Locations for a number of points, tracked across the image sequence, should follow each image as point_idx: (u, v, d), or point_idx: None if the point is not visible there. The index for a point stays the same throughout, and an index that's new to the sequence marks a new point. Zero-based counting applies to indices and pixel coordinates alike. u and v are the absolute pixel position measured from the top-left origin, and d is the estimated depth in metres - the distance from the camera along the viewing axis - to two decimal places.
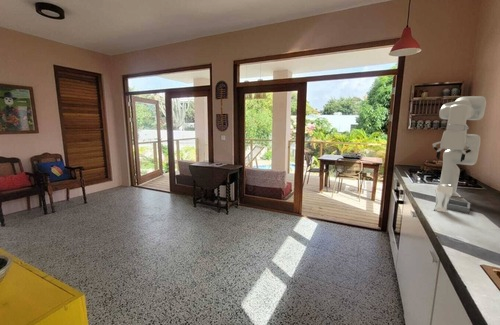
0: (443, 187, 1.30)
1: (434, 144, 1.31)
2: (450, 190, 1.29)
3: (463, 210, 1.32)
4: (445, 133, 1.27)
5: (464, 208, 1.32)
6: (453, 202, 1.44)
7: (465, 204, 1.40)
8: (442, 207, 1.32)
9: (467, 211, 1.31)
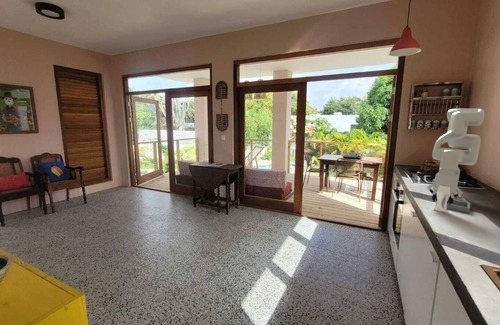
0: (443, 187, 1.30)
1: (429, 187, 1.36)
2: None
3: (463, 210, 1.32)
4: (437, 176, 1.32)
5: (464, 208, 1.32)
6: (453, 202, 1.44)
7: (465, 204, 1.40)
8: (442, 207, 1.32)
9: (467, 211, 1.31)
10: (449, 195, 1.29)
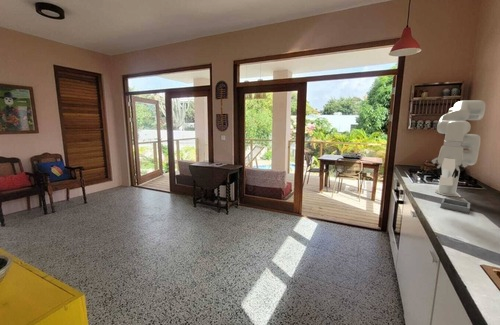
0: (448, 159, 1.27)
1: (433, 161, 1.34)
2: None
3: (463, 210, 1.32)
4: (442, 149, 1.29)
5: (464, 208, 1.32)
6: (453, 202, 1.44)
7: (465, 204, 1.40)
8: (447, 180, 1.29)
9: (467, 211, 1.31)
10: (454, 168, 1.27)
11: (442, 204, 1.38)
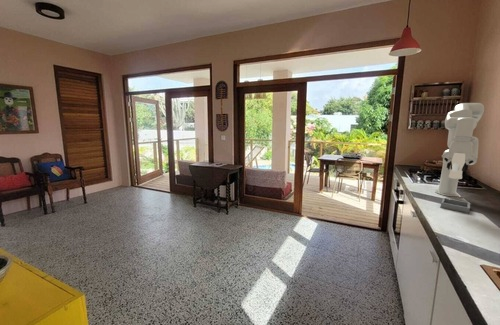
0: (458, 154, 1.33)
1: (443, 156, 1.40)
2: None
3: (463, 210, 1.32)
4: (453, 144, 1.35)
5: (464, 208, 1.32)
6: (453, 202, 1.44)
7: (465, 204, 1.40)
8: (457, 174, 1.35)
9: (467, 211, 1.31)
10: (464, 162, 1.33)
11: (442, 204, 1.38)
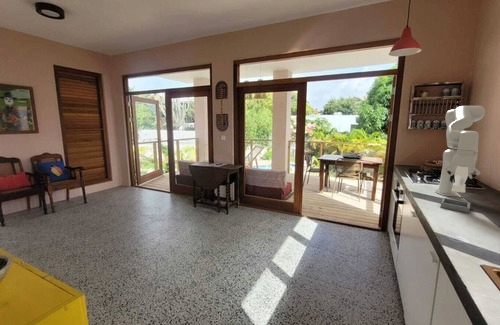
0: (461, 167, 1.33)
1: (446, 168, 1.40)
2: None
3: (463, 210, 1.32)
4: (455, 157, 1.35)
5: (464, 208, 1.32)
6: (453, 202, 1.44)
7: (465, 204, 1.40)
8: (460, 187, 1.35)
9: (467, 211, 1.31)
10: (467, 175, 1.33)
11: (442, 204, 1.38)
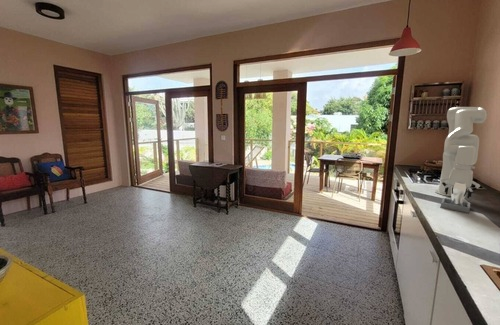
0: (459, 184, 1.35)
1: (442, 180, 1.41)
2: None
3: (463, 210, 1.32)
4: (453, 171, 1.37)
5: (464, 208, 1.32)
6: None
7: (465, 204, 1.40)
8: (458, 203, 1.37)
9: (467, 211, 1.31)
10: (465, 192, 1.34)
11: (442, 204, 1.38)
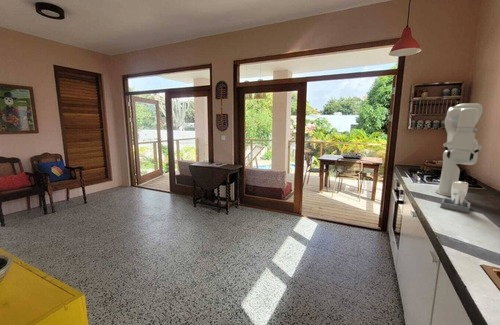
0: (459, 184, 1.35)
1: (445, 144, 1.42)
2: (466, 187, 1.34)
3: (463, 210, 1.32)
4: (455, 134, 1.37)
5: (464, 208, 1.32)
6: None
7: (465, 204, 1.40)
8: (458, 203, 1.37)
9: (467, 211, 1.31)
10: (465, 192, 1.34)
11: (442, 204, 1.38)
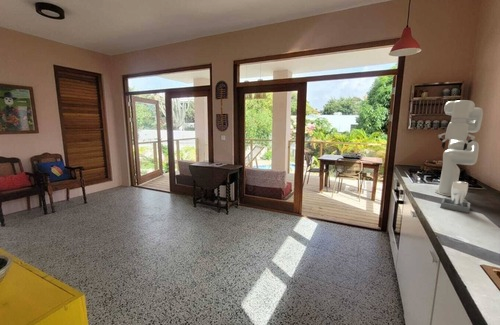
0: (459, 184, 1.35)
1: (440, 135, 1.49)
2: (466, 187, 1.34)
3: (463, 210, 1.32)
4: (449, 125, 1.44)
5: (464, 208, 1.32)
6: None
7: (465, 204, 1.40)
8: (458, 203, 1.37)
9: (467, 211, 1.31)
10: (465, 192, 1.34)
11: (442, 204, 1.38)
